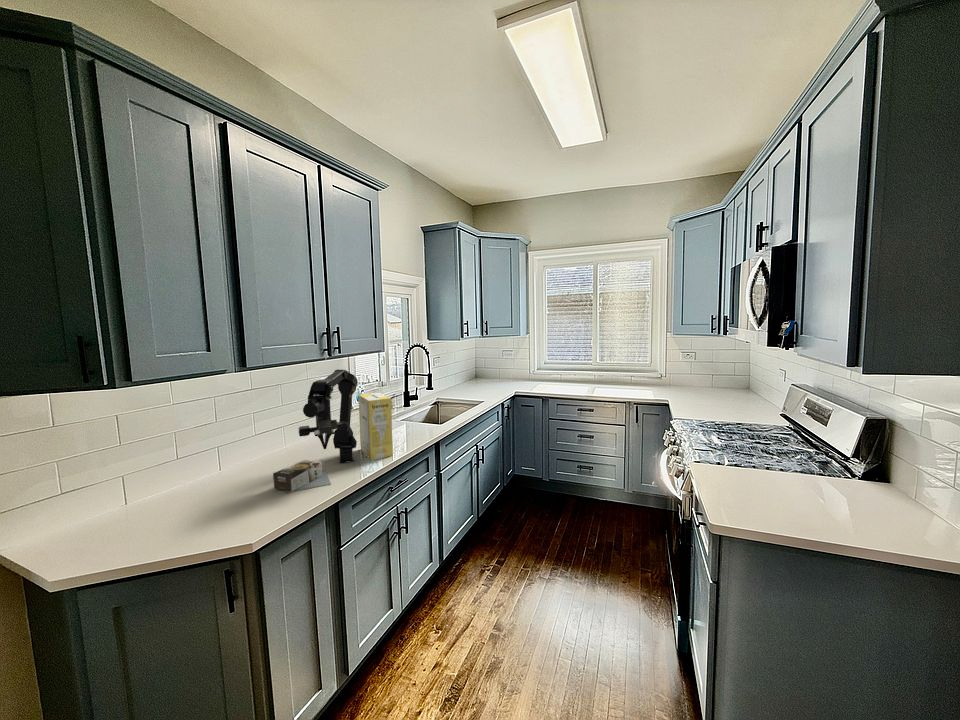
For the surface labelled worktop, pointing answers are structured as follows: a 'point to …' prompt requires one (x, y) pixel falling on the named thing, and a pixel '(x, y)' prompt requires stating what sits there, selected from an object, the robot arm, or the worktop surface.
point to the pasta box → (375, 425)
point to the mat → (316, 482)
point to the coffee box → (297, 475)
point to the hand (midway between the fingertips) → (324, 448)
